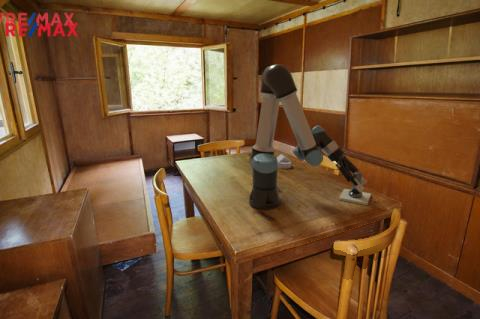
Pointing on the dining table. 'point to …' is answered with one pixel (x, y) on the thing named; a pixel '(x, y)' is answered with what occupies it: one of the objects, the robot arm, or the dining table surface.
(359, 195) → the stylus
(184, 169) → the dining table surface
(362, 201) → the pad
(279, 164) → the wedge on round base
